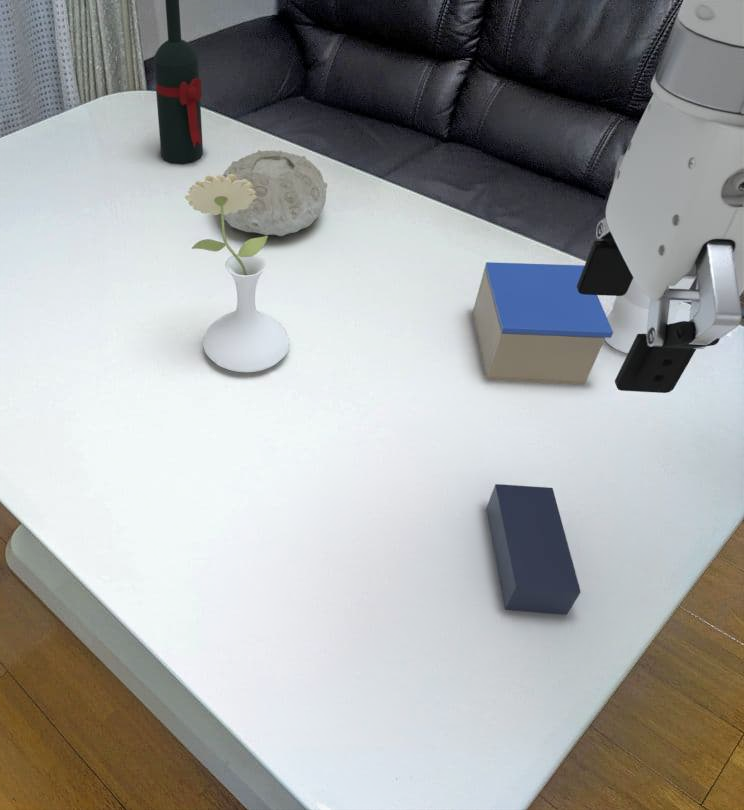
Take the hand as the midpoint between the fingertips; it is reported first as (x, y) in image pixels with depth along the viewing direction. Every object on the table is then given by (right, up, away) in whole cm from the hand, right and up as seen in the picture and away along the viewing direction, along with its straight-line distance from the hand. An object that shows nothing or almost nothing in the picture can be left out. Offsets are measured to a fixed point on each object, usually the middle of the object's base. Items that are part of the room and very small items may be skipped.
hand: (619, 337), depth 48 cm
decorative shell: (-16, +26, +73) cm, 79 cm away
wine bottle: (-31, +42, +90) cm, 104 cm away
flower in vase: (-22, +3, +50) cm, 55 cm away
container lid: (+15, +8, +42) cm, 46 cm away
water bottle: (+29, +4, +48) cm, 56 cm away
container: (+15, +3, +48) cm, 50 cm away
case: (+5, -20, +26) cm, 33 cm away
